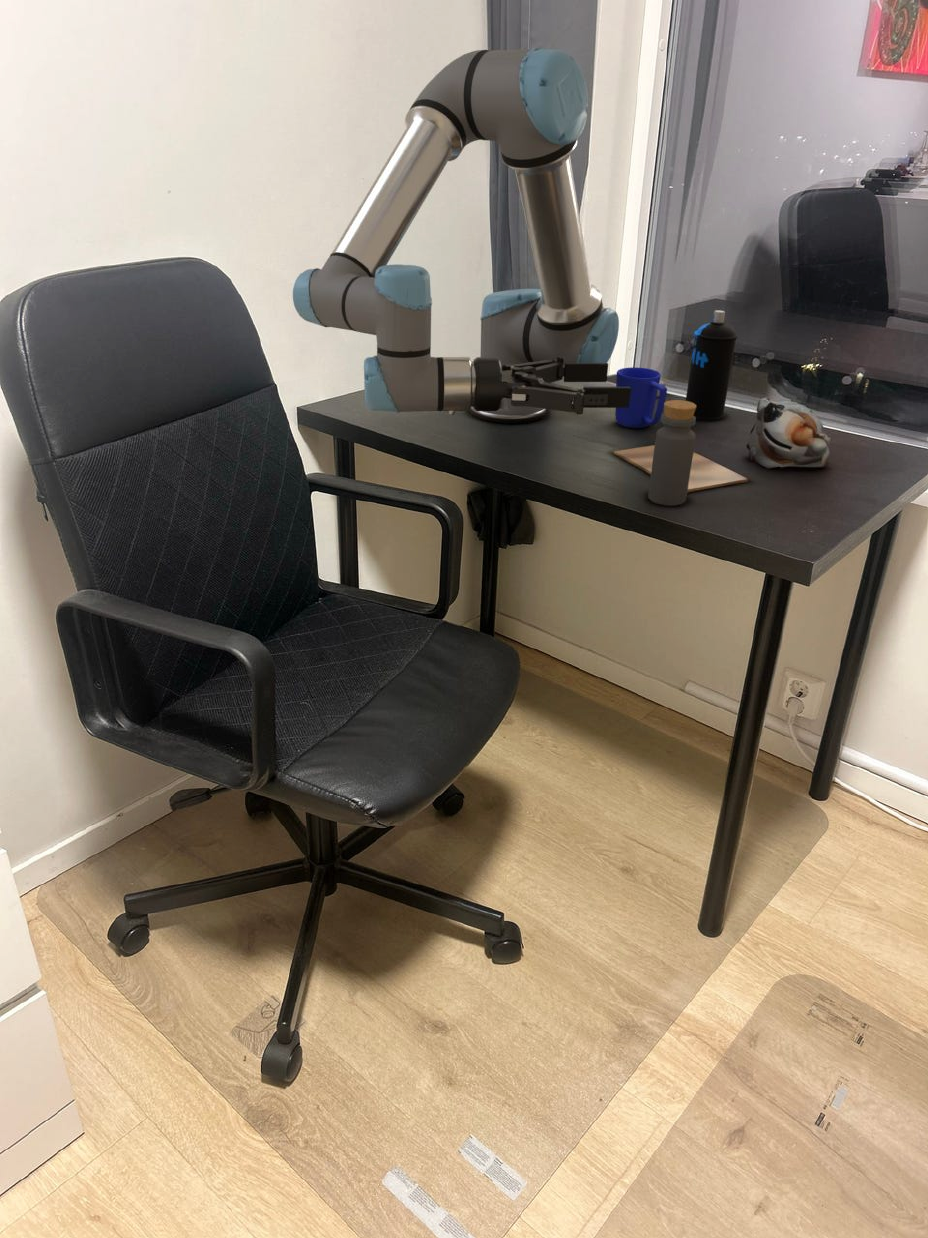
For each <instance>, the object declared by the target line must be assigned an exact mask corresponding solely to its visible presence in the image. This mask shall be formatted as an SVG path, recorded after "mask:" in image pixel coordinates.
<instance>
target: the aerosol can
mask: <svg viewBox="0 0 928 1238" xmlns="http://www.w3.org/2000/svg"><path fill="white" fill-rule="evenodd" d="M725 315H726V312H725V311H724V310H720V309H719V310H714V312H713V318H712V321H711V322H709V323H705V324H702V325H701V326H700V327H699V328H697V330H695V331H694V332H693V335H694V341H693V349H692V355H691V362H690V368H689V374H688V381H687V388H686V395H685V396H686V397H685V401H688V402H692V403H694V404H695V405H696V409H695V412H694V415H693V416H695V417H696V420H699V421H709V422H710V421H719V420H722V419H723V418H725V415H726V414H725V413H724V412H725V407H726V400H727V395H728V389H729V384H730V378H731V373H732V366H733V360H734V354H735V348H736V342H737V339H738V337H739V335H738V333H736V331H735V330H734V328H733V327H732V326H730V325H729V324H726V323H725V322H724V321H725Z"/></svg>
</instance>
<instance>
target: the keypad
mask: <svg viewBox="0 0 928 1238" xmlns="http://www.w3.org/2000/svg"><path fill="white" fill-rule="evenodd" d="M616 379H617V373H613V374H607V382H584V384H583V386H582V388H583V387H616ZM659 384H661V385H663V386H665V387H666V386H667V385H666V382H665V381H663V380H660V382H659ZM659 395H660V390H659V389H658V392H657V397H659Z"/></svg>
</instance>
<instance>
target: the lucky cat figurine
mask: <svg viewBox="0 0 928 1238" xmlns="http://www.w3.org/2000/svg"><path fill="white" fill-rule="evenodd" d="M823 430H824V425H823V422H822V421H821V419H820V418H819V416H818V415H816V414H815V413H813V411H812V409H809V408H808V407H806V405H804V404H800V403H798V402H796V401H790V400H782V401H777V402H775V403H774V402H772V401H770V398H769V397H763V398H761V399H759V400H758V402H757V406H756V422H755V423H754V424H753V426H752V428H751V430H750V433H749V436H748V440H747V444H746V446H745V447H746V449H747V450H748V452H749V456H750V457H749V460H751V461H752V462H755V463H756V464H759V466H762V467H764V468H766V469H774V468H779V467H780V468H786V467H792V468H793V467H794V468H795V467H797V468H798V467H799V468H821V469H823V468H824V467H825V466H826V464H827V461H828V459H829V457H830V454H831V452H830V449H829V445H830V441H831V437H828V434H827V433H823Z"/></svg>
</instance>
